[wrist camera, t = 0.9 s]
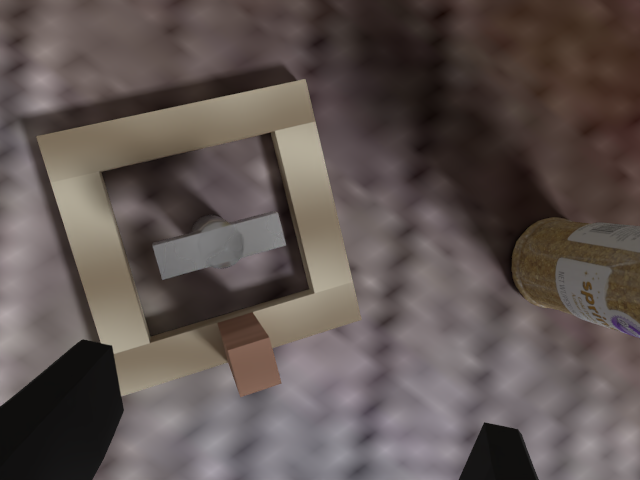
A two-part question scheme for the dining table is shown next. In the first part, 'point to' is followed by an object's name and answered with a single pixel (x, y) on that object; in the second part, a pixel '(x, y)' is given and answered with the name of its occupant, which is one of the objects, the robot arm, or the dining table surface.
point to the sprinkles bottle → (582, 271)
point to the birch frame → (112, 264)
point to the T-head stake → (218, 243)
